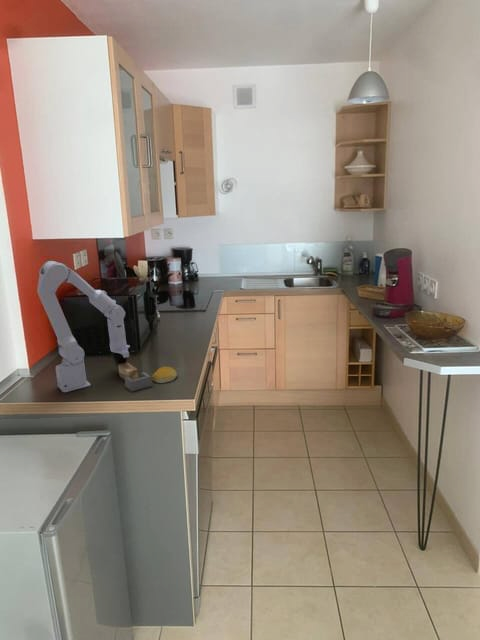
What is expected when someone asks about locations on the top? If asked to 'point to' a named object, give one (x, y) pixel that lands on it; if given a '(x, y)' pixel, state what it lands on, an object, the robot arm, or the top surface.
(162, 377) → the bread roll
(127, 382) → the end cap
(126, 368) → the brown wooden block
